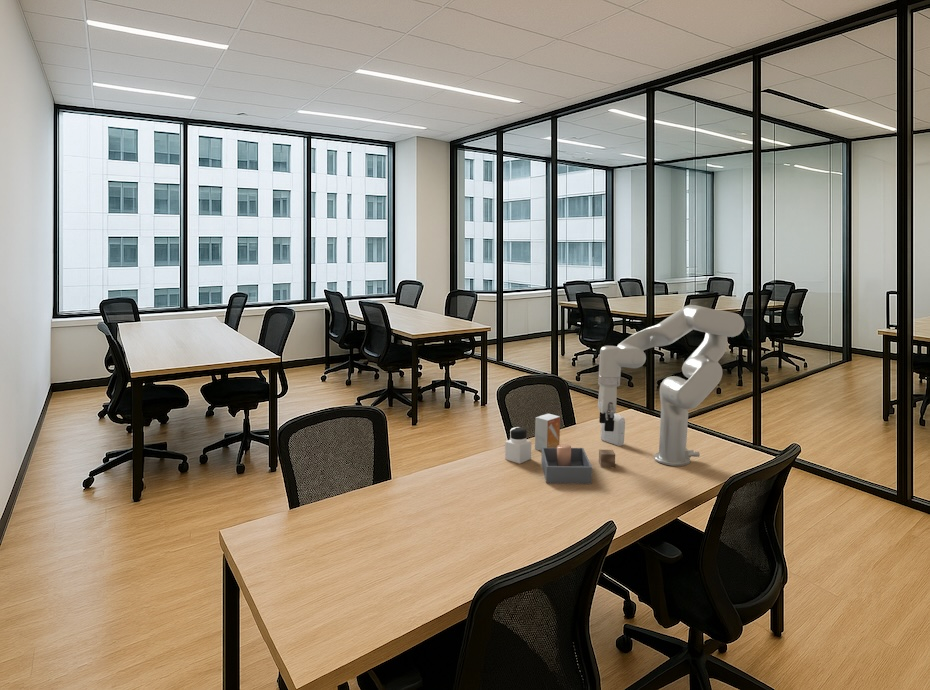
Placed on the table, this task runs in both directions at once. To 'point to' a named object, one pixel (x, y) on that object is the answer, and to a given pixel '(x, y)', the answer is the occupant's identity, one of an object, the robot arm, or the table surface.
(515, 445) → the medicine bottle
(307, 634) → the table surface
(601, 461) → the walnut cube
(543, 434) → the small box
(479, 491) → the table surface
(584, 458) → the tote
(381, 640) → the table surface
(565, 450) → the pink rounded block
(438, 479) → the table surface
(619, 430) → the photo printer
